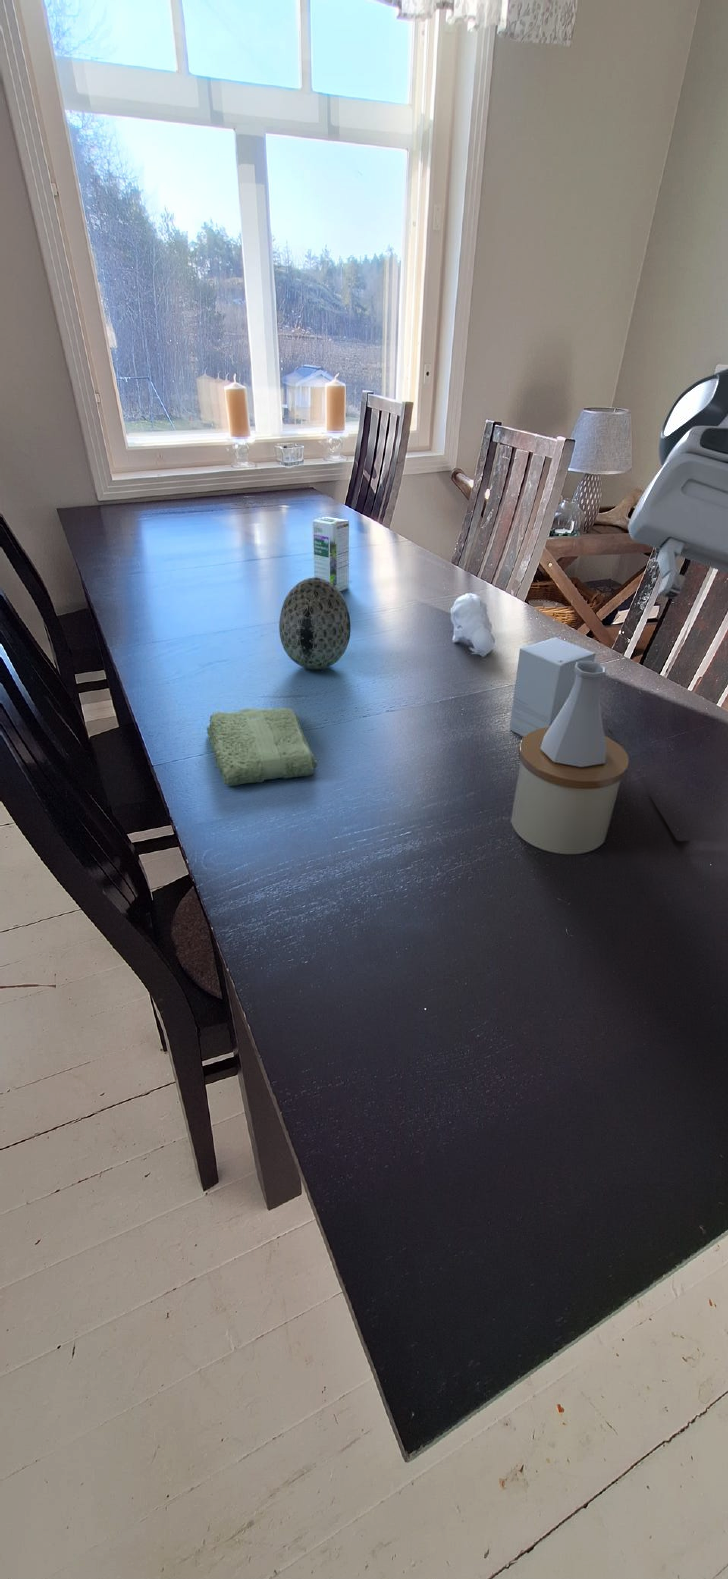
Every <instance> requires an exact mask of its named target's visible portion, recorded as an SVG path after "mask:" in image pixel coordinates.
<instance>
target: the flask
mask: <svg viewBox="0 0 728 1579" xmlns="http://www.w3.org/2000/svg"><path fill="white" fill-rule="evenodd" d="M575 673H576V679H575V683H574V686H573V688H572V691H571V693H570V696H569V697H568V699H567V701H566V702H565V704H564V706H563V707H562V709H561V711H560V712H559V714H558V716H557V717H556V719H555V720H554V722H553V723H552V725H551V726H550V728H549V729H548V731H547V732H546V734H545V736H544V738H543V742H542V745H541V748H540V749H541V750H542V751H543V752H544V753H545V754H546V755H547V756H548V757H549V758H550V759H551V760H552V761H553V762H557V763H562V764H568V765H573V766H578V767H585V766H591V765H597V764H603V763H605V760H606V753H607V747H606V741H605V736H606V735H605V730H604V724H603V717H602V710H601V702H600V696H601V695H600V694H601V683H602V678H605V677H606V674H607V666H605V665H604V664H602V663H601V662H598V661H594V662H591V661H583V662H576V665H575Z"/></svg>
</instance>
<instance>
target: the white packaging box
mask: <svg viewBox="0 0 728 1579" xmlns="http://www.w3.org/2000/svg"><path fill="white" fill-rule="evenodd" d="M596 654H597V653H596V652H595V651H592V650H588V649H586V648H583V647H581V646H578V645H576V644H575V643H571V642H569V641H567V640H564V639H561V638H559V637H557V636H555V637H552V638H548V639H546V640H542V641H538V642H536V643H532V644H530V645H529V644H528V645H526V646H522V647H519V653H518V661H517V668H516V676H515V683H514V689H513V690H514V691H513V697H512V705H511V714H510V720H509V728H508V729H509V730H510V731H512V732H514V733H516V734H517V735H519V736H521V737H522V738H524V737H525V736H526V735H527V734H529V733H530V732H532V731H535V730H537V729H541V728H546V727H550V726H551V725H552V723H553V722H554V720H555V719H556V717H557V716H558V714H559V712H560V711H561V709H562V707H563V706H564V704H565V702H566V701H567V699H568V697H569V696H570V693H571V691H572V688H573V686H574V683H575V679H576V673H575V665H576V662H583V661H591V662H595V659H596Z"/></svg>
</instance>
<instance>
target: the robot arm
mask: <svg viewBox="0 0 728 1579" xmlns="http://www.w3.org/2000/svg"><path fill="white" fill-rule="evenodd" d="M658 456H659V462H660V464H661V466H662V467H661V468H660V469H659V470H658V472H657V474H655V476H654V477H653V478H652V480H651V481H650V483H649V484H648V486H647V487H646V489H645V490H644V491H643V493H642V494H641V496H640V498H639V500H638V502H637V504H636V506H635V508H634V510H633V512H632V514H631V516H630V519H629V522H628V525H627V530H628V533H629V536H630V538H631V540H632V541H634V542H636V543H640V544H643V545H646V546H648V547H650V548H651V547H652V548H655V549H657V550H659V551H658V554H657V558H656V560H657V564H658V568H659V572H660V577H661V579H662V580H661V582H660V586H659V589H658V591H657V595H659V596H661V597H665V598H667V599H671V600H675V598H676V597H678V596H679V595H680V593H681V591H682V589H683V586H682V585H683V584H684V583H685V581H686V578H687V576H686V575H683V574H681V573H679V571H678V566H677V557H680V558H682V559H686V560H689V561H692V562H694V563H697V564H700V565H703V566H706V567H709V568H711V569H715V570H718V571H719V572H723V573H726V574H728V368H726V369H722V370H720V371H718V372H715V373H712V374H711V375H708V376H705V377H703V378H701V379H699V380H697V381H695V382H694V383H693V384H691V385H690V386H689V387H688V388H686V389H685V390H684V391H683V392H682V393H681V394H680V395H679V396H678V398H677V399H676V400H675V401H674V403H673V405H672V406H671V408H670V409H669V412H668V414H667V416H666V418H665V420H664V423H663V425H662V428H661V431H660V437H659V443H658Z"/></svg>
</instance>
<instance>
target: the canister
mask: <svg viewBox="0 0 728 1579" xmlns="http://www.w3.org/2000/svg"><path fill="white" fill-rule="evenodd" d="M549 728H550V727H546V728H541V729H537V730H535V731H532V732H530V733H529V734H527V735H526V736H525V737H522V739H521V740H520V743H519V748H518V758H519V764H518V772H517V778H516V784H515V790H514V795H513V796H514V797H513V803H512V809H511V814H510V822H511V826H512V829H514V832H515V833H516V834H517V836H519V837H520V838H521V839H522V840H524V841H525V842H526V843H528V844H529V845H531V846H532V847H533V846H534V848H537V849H540V850H543V851H546V852H550V853H554V854H560V855H580V854H586V853H589V852H592V851H594V850H597V848H599V847H601V845H603V844H604V842H605V841H606V839H607V837H608V836H607V835H608V832H609V828H610V825H611V821H612V817H613V812H614V810H615V805H616V802H617V798H618V793H619V790H620V786H621V782H622V780H623V779H624V777H625V776H626V774H627V771H628V768H629V764H630V759H629V755H628V753H627V751H626V750H625V749H624V747H623V746H622V745H620V744H619V743H618V742H617V741H615V740H613V739H612V738H610V737H609V736H606V735H605V741H606V747H607V753H606V760H605V763H603V764H597V765H591V766H585V767H578V766H573V765H568V764H562V763H557V762H553V761H552V760H551V759H550V758H549V757H548V756H547V755H546V754H545V753H544V752H543V751H542V750H541V749H540V748H541V745H542V742H543V738H544V736H545V734H546V732H547V731H548V729H549Z"/></svg>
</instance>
